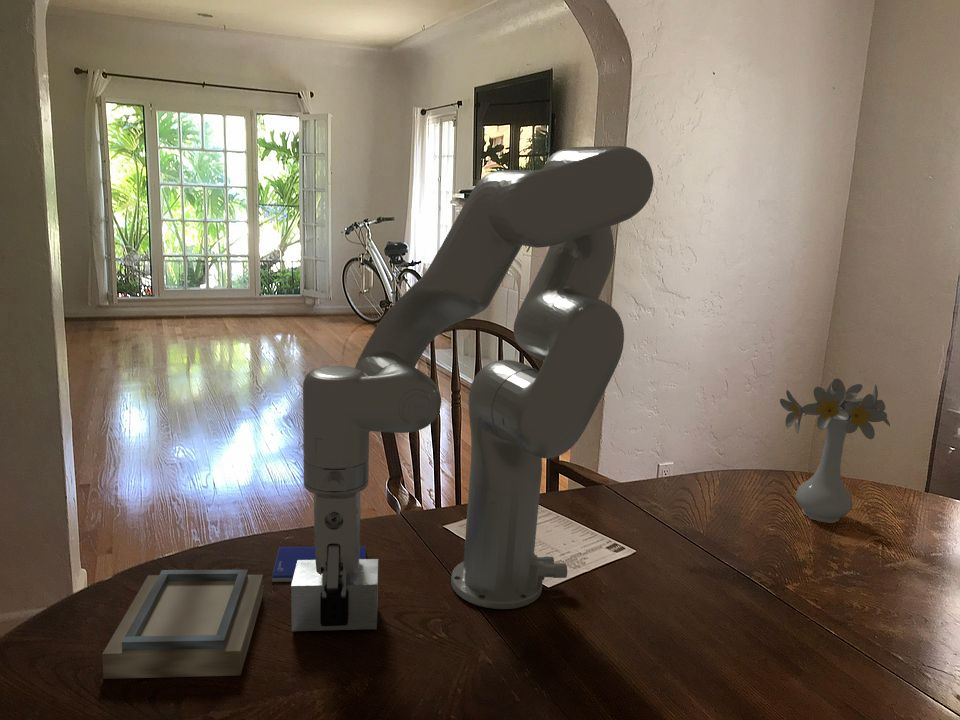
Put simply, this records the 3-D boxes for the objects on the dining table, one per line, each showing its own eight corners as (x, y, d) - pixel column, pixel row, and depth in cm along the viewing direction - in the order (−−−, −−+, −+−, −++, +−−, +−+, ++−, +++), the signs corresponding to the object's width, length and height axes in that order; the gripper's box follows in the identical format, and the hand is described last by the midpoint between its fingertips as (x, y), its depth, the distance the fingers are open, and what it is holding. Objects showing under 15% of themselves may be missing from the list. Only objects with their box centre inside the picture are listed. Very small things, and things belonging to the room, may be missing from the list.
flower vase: (752, 504, 136) (773, 373, 130) (837, 501, 140) (862, 374, 135) (796, 536, 124) (822, 393, 118) (889, 532, 128) (918, 394, 122)
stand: (262, 595, 95) (262, 567, 95) (240, 675, 80) (240, 642, 79) (149, 596, 93) (147, 568, 92) (103, 678, 78) (101, 645, 77)
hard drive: (272, 574, 99) (365, 573, 101) (279, 545, 107) (365, 545, 108) (272, 585, 99) (365, 584, 101) (279, 555, 107) (365, 554, 109)
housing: (377, 601, 95) (378, 553, 93) (376, 629, 89) (377, 578, 87) (297, 603, 93) (297, 554, 92) (291, 631, 88) (290, 579, 86)
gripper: (367, 503, 79) (365, 650, 83) (369, 446, 95) (367, 571, 100) (295, 503, 78) (297, 653, 82) (310, 446, 94) (311, 572, 99)
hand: (335, 607), depth 91 cm, fingers closed on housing, 6 cm apart
